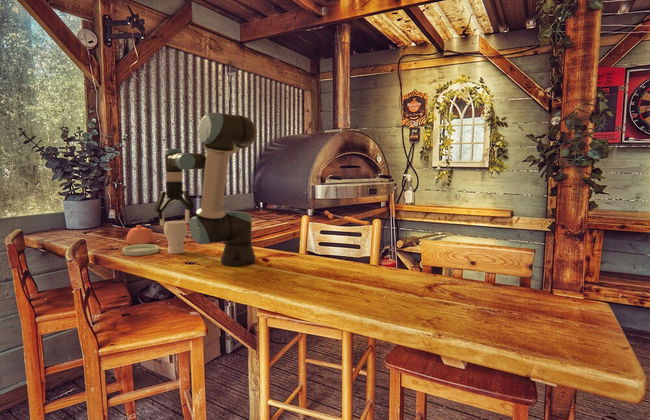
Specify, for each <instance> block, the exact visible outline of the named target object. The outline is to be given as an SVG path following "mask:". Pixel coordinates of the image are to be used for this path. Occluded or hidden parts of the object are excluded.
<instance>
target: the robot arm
mask: <svg viewBox="0 0 650 420" xmlns="http://www.w3.org/2000/svg"><path fill="white" fill-rule="evenodd" d="M197 134H198V139H199V141H200V142H201V143H202V147H203V148H204V149H205V150H206V152H205V153H201V152H200V153H199V152H198V153H192V152H191V153H190V152H183V150H182V149H181V148H169V147H167V148H166V149H165V151H164V152H165V154H164V159H165V180H166V181H165V191H162V190H160V191H159V197H158V198H157V202H156V203H155V205H154V208H153V211H154V212H156V213H157V216H158V217H157V218H158V220H159V226H161V227H164V226H165V212H164V211H165V209H166V208H167V206H168V205H169V204H170V202H171V201H179V202H180V203H181V204H182V206H184V208H185V210H184V221H185V222H186V224H189V231H190V235H191V237H192V239H193V240H194V242H195V243H197V244H198V245H210V244H216V243H223V242H224V248H223V251H222V256H221V258H220V263H221V265H223V266H227V267H244V266H245V265H247V266H250V264H251V265H253V263H254V264H255V263H256V261H257V260H256V259H257V258H256V255H255V252H254V249H253V246H252V244H253V243H252V241H253V239H252V238H253V237H252V234H253V233H252V231H253V230H252V224H253V221H252V214H251V213H249V212H247V211H246V212H245V211H238V210H225V211H224V210H223V207H224V200H225V190H226V183H227V174H228V165H229V157H231V156H232V155H234V154H235V153H237V152H238V151H239V150H243V149H246V148H248V147H250V146H252V144H254V142H255V140H256V139H257V127H256V125H255V124H254V122H253V121H252V119H250V118H249V117H247V116H244V115H239V114H238V115H237V114H231V113H230V114H228V113H222V112H208V113H206V114H205V115H203V117H202V118H201V120H200V122H199V126H198V133H197ZM185 170H186V171H187V170H188V171H189V170H204V173H203V184H202V193H201V202H200V208H198V209H197V210H196V215H195V216H192V215H191V214H192V210H193V209H194V208H195V205H194V203H193V201H192V199H191V197H190V194H189V190H187V189H183V187H184V186H183V179H184V178H183V171H185ZM190 216H192V217H191V218H190ZM245 267H246V266H245Z"/></svg>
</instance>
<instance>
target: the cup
mask: <svg viewBox="0 0 650 420" xmlns="http://www.w3.org/2000/svg"><path fill="white" fill-rule="evenodd" d="M164 225H165V226H163V233H164V236H165V237H166V240H167V243H168V249H167V253H168V254H172V255H174V254H175V255H177V254H183V253H185V246H184V242H185V238H186V236H187V232H188V226H187V223H186V222H185V220H170V221H164Z"/></svg>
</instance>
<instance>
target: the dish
mask: <svg viewBox="0 0 650 420" xmlns="http://www.w3.org/2000/svg"><path fill="white" fill-rule="evenodd" d="M121 249H122V250H121V251H122V252H121V253H122V255H125V256H130V257H133V256H134V257H135V256H136V257H137V256H138V257H140V256H147V255H149V256H150V255H153V254H156V253H158V252H159V251H160V247H159V245H158V244H155V243H154V244H152V243H148V244H138V245H127V246H124V247H122V248H121Z"/></svg>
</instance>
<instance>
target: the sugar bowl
mask: <svg viewBox="0 0 650 420" xmlns="http://www.w3.org/2000/svg"><path fill="white" fill-rule="evenodd" d="M135 226H136V227H132V228H130V230H129V231H128V233H127V235H126V238H125V242H126V243H127V244H128V245H129V246H131V245H138V244H151V243H150V242H153V241H154V239H155V238H154V237H153V232H154V231H153V230H152V229H151V228H146V227H143V226H142V225H140V224H139V225H138V224H137V225H135Z"/></svg>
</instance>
